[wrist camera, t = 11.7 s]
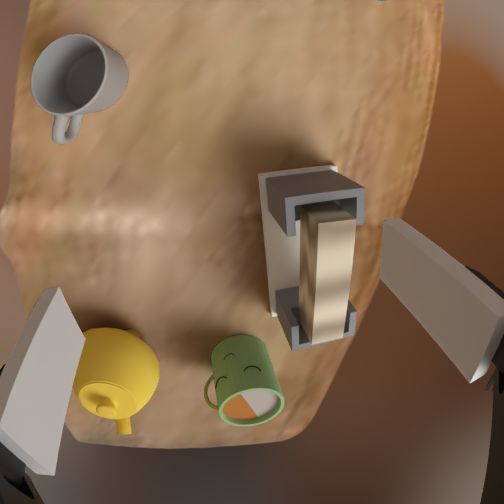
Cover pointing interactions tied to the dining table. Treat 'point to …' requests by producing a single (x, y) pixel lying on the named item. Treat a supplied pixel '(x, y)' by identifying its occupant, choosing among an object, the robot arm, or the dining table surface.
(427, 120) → the dining table surface
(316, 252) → the rail
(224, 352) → the mug
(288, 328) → the bracket board
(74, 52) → the mug
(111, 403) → the teapot
